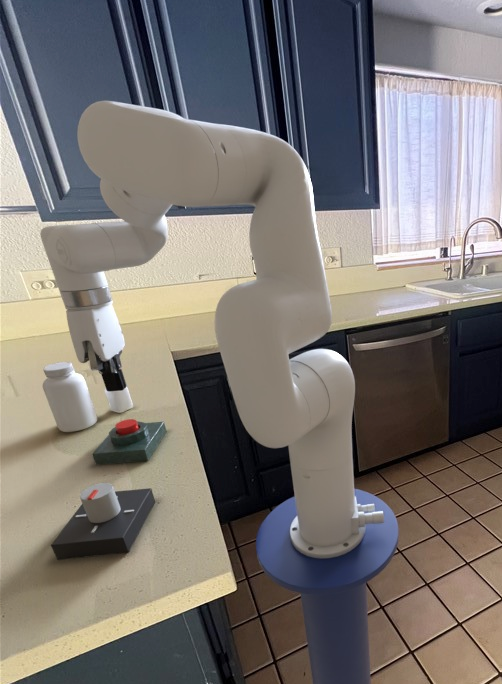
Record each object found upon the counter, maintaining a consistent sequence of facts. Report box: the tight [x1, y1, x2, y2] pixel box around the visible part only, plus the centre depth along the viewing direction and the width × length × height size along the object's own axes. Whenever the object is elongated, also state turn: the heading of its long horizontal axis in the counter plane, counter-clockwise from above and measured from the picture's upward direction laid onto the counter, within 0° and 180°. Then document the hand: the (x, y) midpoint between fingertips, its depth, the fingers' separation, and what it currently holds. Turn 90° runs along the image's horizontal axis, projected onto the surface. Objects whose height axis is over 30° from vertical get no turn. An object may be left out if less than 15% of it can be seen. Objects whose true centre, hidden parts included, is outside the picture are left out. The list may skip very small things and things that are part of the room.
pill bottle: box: [42, 361, 98, 433], centre depth 98 cm, size 8×8×15 cm
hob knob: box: [79, 482, 121, 523], centre depth 67 cm, size 4×4×5 cm
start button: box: [114, 418, 139, 435], centre depth 90 cm, size 4×4×2 cm
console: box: [91, 420, 167, 466], centre depth 91 cm, size 10×12×4 cm
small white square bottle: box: [104, 386, 134, 414], centre depth 106 cm, size 4×4×10 cm
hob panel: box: [50, 487, 156, 561], centre depth 69 cm, size 10×12×3 cm
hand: (117, 389), depth 86 cm, fingers closed
